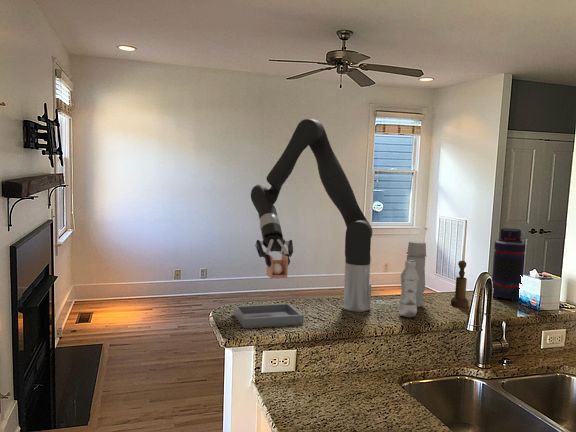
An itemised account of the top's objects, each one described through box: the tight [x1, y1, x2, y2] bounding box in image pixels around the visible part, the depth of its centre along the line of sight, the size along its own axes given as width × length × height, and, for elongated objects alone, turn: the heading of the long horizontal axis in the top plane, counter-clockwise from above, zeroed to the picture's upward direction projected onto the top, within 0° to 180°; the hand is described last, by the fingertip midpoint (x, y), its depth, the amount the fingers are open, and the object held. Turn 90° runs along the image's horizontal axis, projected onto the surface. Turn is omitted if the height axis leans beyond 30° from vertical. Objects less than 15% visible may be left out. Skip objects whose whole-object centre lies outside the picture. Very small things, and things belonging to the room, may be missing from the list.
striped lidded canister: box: [491, 227, 526, 302], centre depth 199 cm, size 14×12×30 cm
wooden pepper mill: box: [450, 260, 470, 308], centre depth 183 cm, size 7×6×18 cm
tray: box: [233, 302, 305, 329], centre depth 156 cm, size 20×15×3 cm
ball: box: [273, 263, 282, 275], centre depth 166 cm, size 4×4×4 cm
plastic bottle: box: [397, 260, 419, 318], centre depth 165 cm, size 6×7×20 cm
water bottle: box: [406, 240, 428, 308], centre depth 181 cm, size 9×8×25 cm
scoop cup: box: [266, 254, 289, 279], centre depth 166 cm, size 6×6×8 cm
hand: (278, 265), depth 164 cm, fingers closed on scoop cup, 6 cm apart
